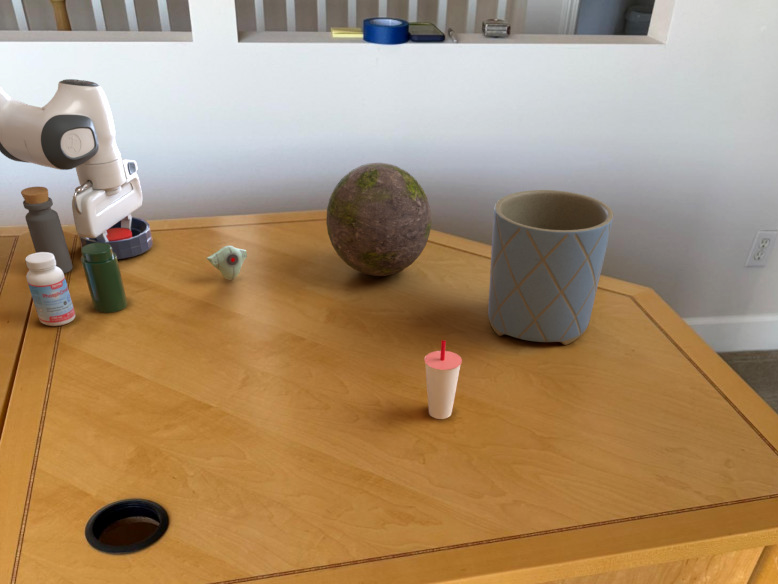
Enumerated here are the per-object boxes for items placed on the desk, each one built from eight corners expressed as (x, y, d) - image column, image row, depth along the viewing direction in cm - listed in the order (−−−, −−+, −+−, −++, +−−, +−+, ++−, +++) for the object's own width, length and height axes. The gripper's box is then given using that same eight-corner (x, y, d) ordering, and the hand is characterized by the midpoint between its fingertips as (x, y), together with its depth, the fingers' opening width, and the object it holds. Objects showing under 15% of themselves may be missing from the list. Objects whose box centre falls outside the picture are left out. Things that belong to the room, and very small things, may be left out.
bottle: (79, 267, 153) (57, 189, 143) (55, 278, 150) (31, 198, 139) (59, 260, 156) (36, 183, 145) (35, 271, 152) (10, 191, 142)
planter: (474, 341, 133) (484, 223, 119) (494, 294, 146) (505, 184, 133) (586, 357, 129) (609, 237, 116) (595, 308, 143) (617, 196, 129)
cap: (137, 236, 162) (135, 228, 161) (127, 249, 157) (125, 240, 156) (108, 236, 162) (105, 227, 161) (97, 248, 158) (94, 239, 156)
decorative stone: (395, 244, 164) (396, 142, 150) (449, 279, 151) (455, 171, 138) (311, 264, 156) (304, 158, 142) (360, 302, 143) (357, 190, 130)
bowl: (67, 254, 158) (62, 234, 155) (113, 230, 168) (109, 212, 165) (123, 266, 154) (118, 247, 151) (167, 242, 163) (163, 222, 161)
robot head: (247, 272, 153) (243, 238, 148) (255, 279, 150) (251, 245, 146) (208, 280, 150) (203, 246, 145) (216, 288, 147) (211, 253, 142)
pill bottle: (56, 330, 134) (36, 267, 126) (32, 321, 136) (12, 259, 129) (83, 317, 138) (66, 255, 130) (60, 308, 140) (42, 247, 132)
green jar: (86, 309, 140) (70, 251, 133) (107, 295, 144) (93, 239, 137) (114, 315, 138) (99, 257, 131) (134, 301, 142) (121, 244, 135)
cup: (431, 399, 119) (435, 327, 111) (463, 408, 117) (469, 336, 109) (416, 416, 115) (418, 343, 107) (448, 426, 113) (453, 353, 105)
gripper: (86, 192, 143) (105, 265, 152) (140, 159, 157) (154, 227, 167) (56, 189, 144) (76, 261, 153) (112, 156, 159) (128, 224, 168)
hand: (117, 243), depth 160 cm, fingers closed on cap, 6 cm apart
